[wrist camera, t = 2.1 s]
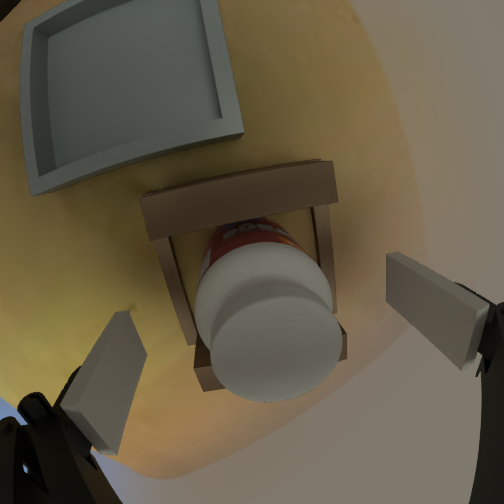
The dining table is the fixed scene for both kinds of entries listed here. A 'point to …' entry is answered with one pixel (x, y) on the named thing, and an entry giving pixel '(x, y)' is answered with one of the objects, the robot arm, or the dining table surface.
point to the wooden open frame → (233, 210)
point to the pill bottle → (265, 312)
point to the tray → (122, 86)
